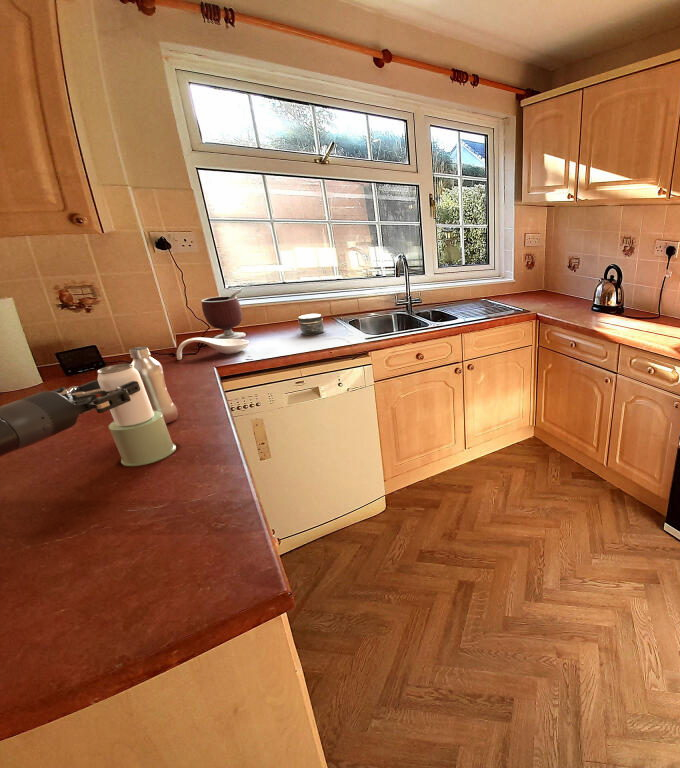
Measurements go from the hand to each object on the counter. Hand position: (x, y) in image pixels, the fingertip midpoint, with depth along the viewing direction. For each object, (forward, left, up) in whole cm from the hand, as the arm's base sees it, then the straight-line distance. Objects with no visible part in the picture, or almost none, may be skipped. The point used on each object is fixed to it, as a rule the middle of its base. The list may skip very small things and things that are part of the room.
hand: (118, 385), depth 87 cm
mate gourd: (+78, +78, -18) cm, 112 cm away
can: (0, 0, -9) cm, 9 cm away
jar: (+96, +49, -18) cm, 109 cm away
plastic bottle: (+13, +15, -18) cm, 26 cm away
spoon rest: (+58, +60, -18) cm, 85 cm away
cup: (+1, 0, -17) cm, 17 cm away
